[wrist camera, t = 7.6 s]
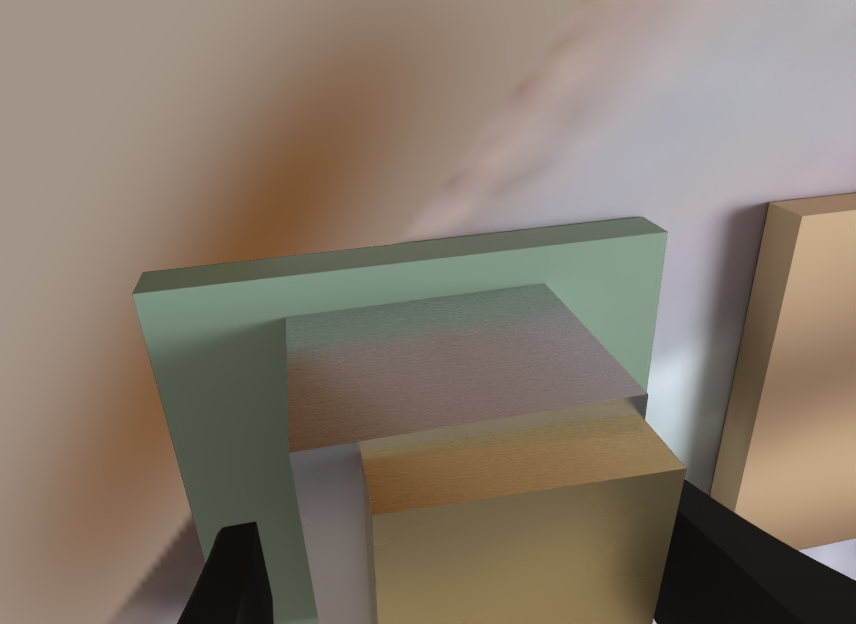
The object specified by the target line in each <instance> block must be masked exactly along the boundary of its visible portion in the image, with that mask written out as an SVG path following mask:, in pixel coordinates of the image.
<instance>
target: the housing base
mask: <svg viewBox="0 0 856 624" xmlns="http://www.w3.org/2000/svg"><path fill="white" fill-rule="evenodd" d="M286 346H287V391H288V435H289V457H290V462H291V468H292V473H293V479H294V485H295V490H296V496H297V501H298V507H299V513H300V518H301V524H302V529H303V535H304V541H305V546H306V552H307V557H308V563H309V569H310V574H311V580H312V585H313V591H314V597H315V602H316V608H317V613H318V619H319V624H371V614H370V598H369V581H368V564H367V548H366V531H365V514H364V498H363V481H362V464H361V451H364V450H372V449H380V448H387V447H395V446H402V445H410V444H418V443H425V442H433V441H440V440H448V439H456V438H463V437H471V436H479V435H486V434H494V433H501V432H509V431H517V430H524V429H532V428H539V427H547V426H555V425H562V424H570V423H577V422H585V421H593V420H600V419H608V418H615V417H623V416H631V415H638V414H640V415H641V416H642V417H643V419H644V420H645V415H646V407H647V400H648V393H647V392H646V391H645V390H644V389H643V388H642V387H641V386H640V385H639V384H638V383H637V381H636V380H635V379H634V378H633V377H632V376H631V375H630V374H629V373H628V372H627V371H626V370H625V369H624V367H623V366H622V365H621V364H620V363H619V362H618V361H617V360H616V359H615V358H614V357H613V356H612V355H611V354H610V352H609V351H608V350H607V349H606V348H605V347H604V346H603V345H602V344H601V343H600V342H599V341H598V340H597V338H596V337H595V336H594V335H593V334H592V333H591V332H590V331H589V330H588V329H587V328H586V327H585V326H584V325H583V323H582V322H581V321H580V320H579V319H578V318H577V317H576V316H575V315H574V314H573V313H572V312H571V311H570V309H569V308H568V307H567V306H566V305H565V304H564V303H563V302H562V301H561V300H560V299H559V298H558V297H557V296H556V294H555V293H554V292H553V291H552V290H551V289H550V288H549V287H548V286H547V285H546V284H545V283H542V284H534V285H527V286H519V287H511V288H504V289H496V290H488V291H481V292H473V293H465V294H458V295H450V296H442V297H434V298H427V299H419V300H411V301H404V302H396V303H388V304H381V305H373V306H365V307H358V308H350V309H342V310H335V311H327V312H319V313H312V314H304V315H296V316H289V317H286Z"/></svg>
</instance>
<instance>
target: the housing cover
mask: <svg viewBox="0 0 856 624" xmlns="http://www.w3.org/2000/svg"><path fill="white" fill-rule="evenodd" d="M361 464H362V481H363V498H364V514H365V531H366V548H367V564H368V581H369V598H370V614H371V624H652V622H653V618H654V613H655V609H656V604H657V600H658V595H659V591H660V586H661V582H662V577H663V573H664V568H665V564H666V559H667V555H668V550H669V545H670V541H671V536H672V532H673V527H674V523H675V518H676V514H677V509H678V505H679V500H680V496H681V491H682V487H683V482H684V478H685V473H686V469H687V468H686V467H685V466H684V465H683V464H682V462H681V461H680V460H679V459H678V458H677V457H676V456H675V454H674V453H673V452H672V451H671V450H670V449H669V447H668V446H667V445H666V444H665V443H664V442H663V441H662V439H661V438H660V437H659V436H658V435H657V434H656V432H655V431H654V430H653V429H652V428H651V427H650V426H649V424H648V423H647V422H646V421H645V420H644V419H643V417H642V416H641V415H640V414H638V415H631V416H623V417H615V418H608V419H600V420H593V421H585V422H577V423H570V424H562V425H555V426H547V427H539V428H532V429H524V430H517V431H509V432H501V433H494V434H486V435H479V436H471V437H463V438H456V439H448V440H440V441H433V442H425V443H418V444H410V445H402V446H395V447H387V448H380V449H372V450H364V451H361Z"/></svg>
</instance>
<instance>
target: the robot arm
mask: <svg viewBox="0 0 856 624" xmlns="http://www.w3.org/2000/svg"><path fill="white" fill-rule="evenodd" d="M654 620H655V621H656V623H657V624H856V581H855V580H853V579H851V578H849V577H847V576H845V575H843V574H841V573H840V572H838V571H836V570H834V569H832V568H830V567H828V566H826V565H824V564H822V563H820V562H818V561H816V560H814V559H812V558H810V557H809V556H807V555H805V554H803V553H801V552H799V551H798V550H796V549H794V548H792V547H791V546H789V545H787V544H786V543H784V542H782V541H780V540H779V539H777V538H775V537H774V536H772V535H770V534H768V533H767V532H765V531H763V530H762V529H760V528H758V527H757V526H755V525H754V524H752V523H750V522H749V521H747V520H746V519H744V518H742V517H741V516H739V515H738V514H736V513H735V512H733V511H731V510H730V509H728V508H727V507H725V506H724V505H722V504H721V503H719V502H718V501H716V500H715V499H713V498H712V497H710V496H709V495H707V494H706V493H704V492H703V491H701V490H700V489H698V488H697V487H695V486H694V485H692V484H691V483H689V482H688V481H686V480H685V479H684V482H683V487H682V491H681V496H680V500H679V505H678V509H677V514H676V518H675V523H674V527H673V532H672V536H671V541H670V545H669V550H668V555H667V559H666V564H665V568H664V573H663V577H662V582H661V586H660V591H659V595H658V600H657V604H656V609H655V613H654ZM177 624H274V618H273V597H272V592H271V588H270V583H269V578H268V574H267V569H266V564H265V560H264V555H263V550H262V546H261V541H260V536H259V532H258V527H257V522H256V521H255V522H250V523H244V524H238V525H233V526H227V527H222V529H221V530H220V531H219V532H218V533H217V536H216V538H215V541H214V544H213V547H212V549H211V552H210V554H209V557H208V559H207V561H206V564H205V566H204V568H203V571H202V573H201V575H200V577H199V580H198V582H197V584H196V586H195V588H194V591H193V593H192V595H191V597H190V599H189V601H188V603H187V605H186V607H185V609H184V611H183V613H182V615H181V617H180V619H179V621H178V623H177Z"/></svg>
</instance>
